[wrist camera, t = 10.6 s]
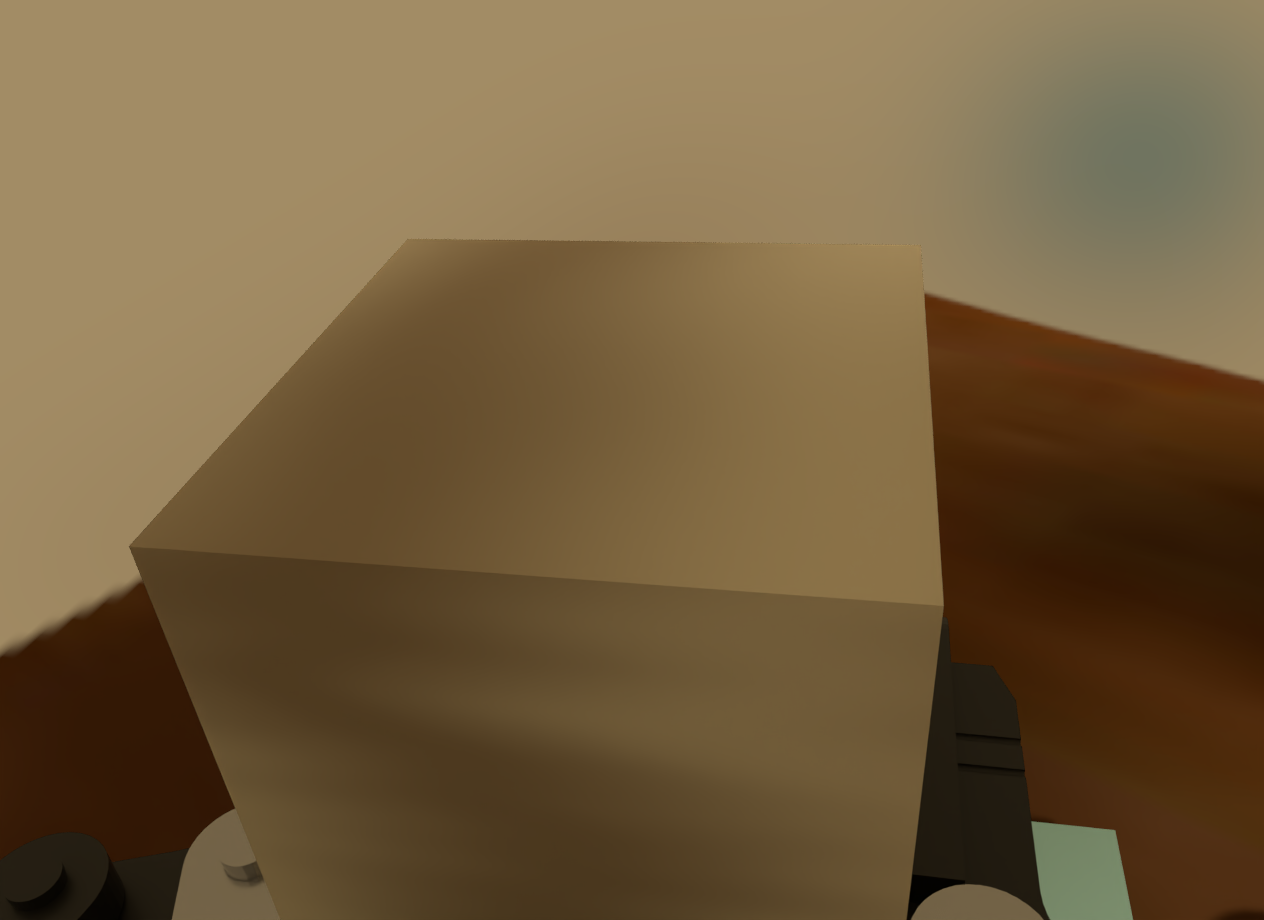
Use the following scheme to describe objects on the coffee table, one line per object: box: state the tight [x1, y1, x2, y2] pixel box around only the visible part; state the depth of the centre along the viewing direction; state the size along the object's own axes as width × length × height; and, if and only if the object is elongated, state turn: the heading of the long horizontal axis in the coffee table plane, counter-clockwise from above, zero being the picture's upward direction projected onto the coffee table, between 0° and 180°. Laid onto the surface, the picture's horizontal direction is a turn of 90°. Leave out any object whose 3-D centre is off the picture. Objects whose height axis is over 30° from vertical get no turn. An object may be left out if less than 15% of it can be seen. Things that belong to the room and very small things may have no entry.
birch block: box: [129, 239, 944, 920], centre depth 12 cm, size 5×5×12 cm
